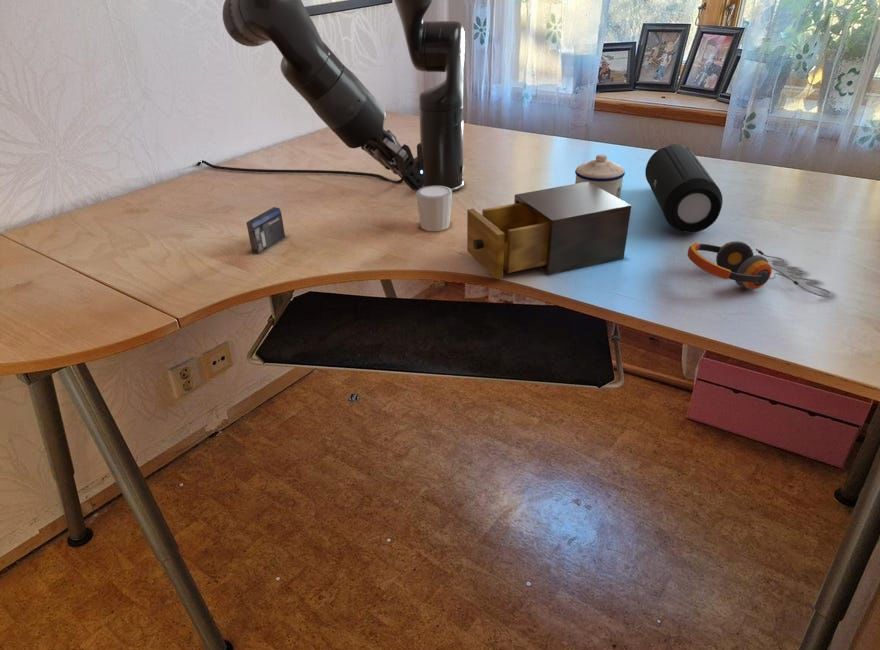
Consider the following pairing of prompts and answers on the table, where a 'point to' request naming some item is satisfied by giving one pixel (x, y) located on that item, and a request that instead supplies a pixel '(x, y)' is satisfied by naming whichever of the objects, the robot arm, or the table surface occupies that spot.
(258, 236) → the mini dv tape
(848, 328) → the table surface
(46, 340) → the table surface
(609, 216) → the cabinet
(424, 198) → the white faceted cylinder
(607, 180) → the teacup with lid
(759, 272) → the headphones
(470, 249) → the wooden drawer
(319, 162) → the table surface
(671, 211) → the portable speaker
